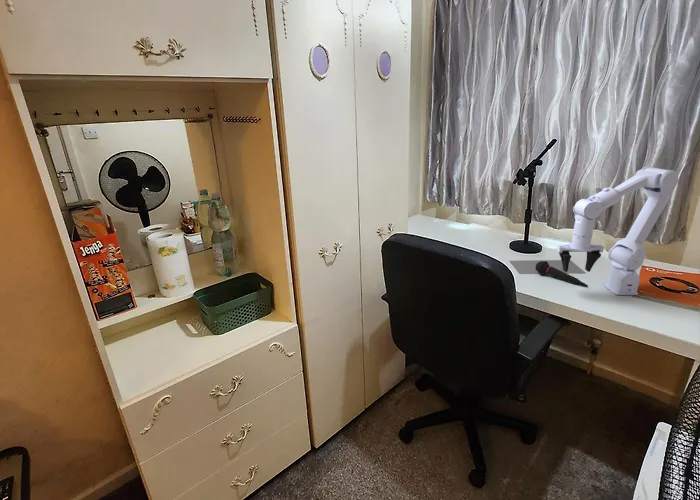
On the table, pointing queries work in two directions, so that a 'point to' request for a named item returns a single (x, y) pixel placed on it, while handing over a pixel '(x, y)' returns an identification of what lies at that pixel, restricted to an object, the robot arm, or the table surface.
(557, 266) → the charcoal mat
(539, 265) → the microphone
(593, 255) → the robot arm
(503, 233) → the table surface
